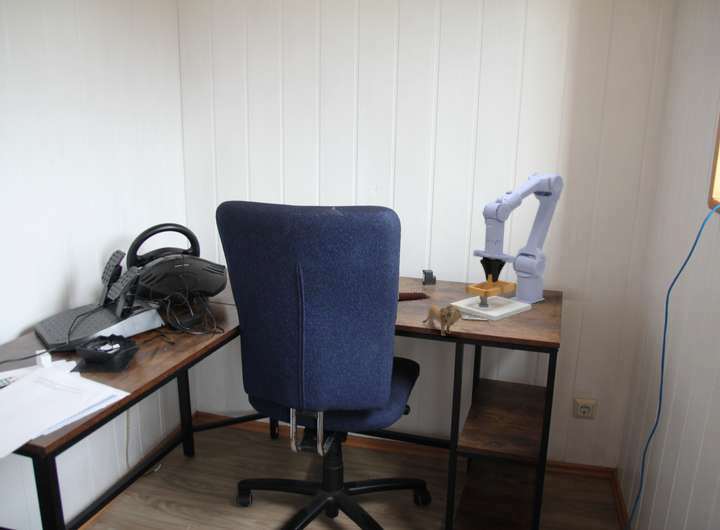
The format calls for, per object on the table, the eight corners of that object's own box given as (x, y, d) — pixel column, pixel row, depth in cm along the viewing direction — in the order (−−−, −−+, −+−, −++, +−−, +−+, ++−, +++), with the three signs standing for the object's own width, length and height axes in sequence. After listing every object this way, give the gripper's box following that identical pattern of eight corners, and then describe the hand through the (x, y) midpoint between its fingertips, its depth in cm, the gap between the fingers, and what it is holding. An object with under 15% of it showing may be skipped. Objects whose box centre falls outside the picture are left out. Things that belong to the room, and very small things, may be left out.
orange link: (494, 284, 184) (495, 269, 183) (516, 289, 177) (517, 273, 176) (465, 292, 174) (466, 275, 172) (487, 297, 167) (488, 280, 166)
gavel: (424, 286, 193) (436, 293, 184) (423, 298, 194) (435, 306, 185) (370, 286, 187) (379, 294, 177) (369, 299, 188) (378, 307, 178)
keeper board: (486, 297, 190) (487, 282, 189) (531, 309, 177) (532, 293, 175) (449, 307, 177) (450, 292, 176) (494, 321, 164) (496, 304, 163)
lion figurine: (464, 335, 151) (466, 305, 149) (451, 339, 148) (452, 308, 146) (428, 322, 162) (429, 293, 160) (415, 325, 159) (416, 296, 157)
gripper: (468, 238, 175) (466, 278, 178) (506, 244, 164) (503, 287, 167) (481, 236, 179) (479, 275, 182) (519, 242, 169) (516, 283, 171)
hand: (491, 281), depth 175 cm, fingers closed on orange link
